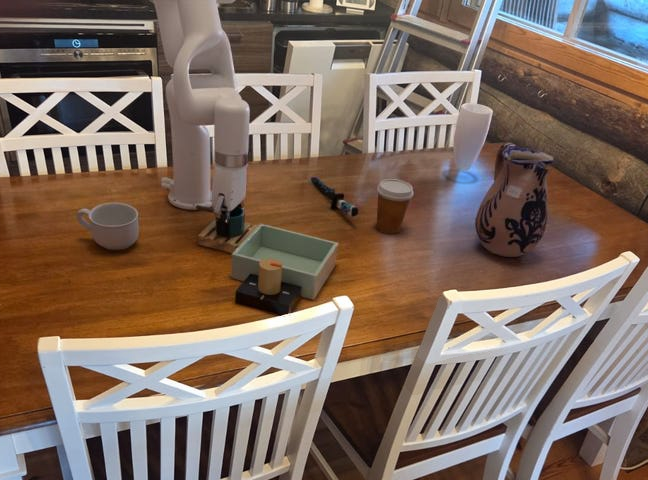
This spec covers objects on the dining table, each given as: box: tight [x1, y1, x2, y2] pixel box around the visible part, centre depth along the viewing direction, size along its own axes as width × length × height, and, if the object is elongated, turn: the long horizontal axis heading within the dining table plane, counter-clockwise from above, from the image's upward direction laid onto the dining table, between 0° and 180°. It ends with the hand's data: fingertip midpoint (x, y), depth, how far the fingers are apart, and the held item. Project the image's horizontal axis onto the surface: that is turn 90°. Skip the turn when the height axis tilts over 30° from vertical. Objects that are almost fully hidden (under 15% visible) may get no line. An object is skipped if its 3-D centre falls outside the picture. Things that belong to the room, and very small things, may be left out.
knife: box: [310, 176, 359, 218], centre depth 176 cm, size 31×3×4 cm, turn 20°
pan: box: [196, 205, 246, 238], centre depth 151 cm, size 12×7×5 cm, turn 73°
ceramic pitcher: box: [474, 142, 555, 258], centre depth 159 cm, size 18×21×25 cm
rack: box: [197, 219, 259, 254], centre depth 153 cm, size 12×12×3 cm
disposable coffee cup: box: [376, 178, 415, 234], centre depth 165 cm, size 10×10×12 cm
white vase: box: [452, 102, 494, 172], centre depth 196 cm, size 10×10×22 cm
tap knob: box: [258, 258, 282, 295], centre depth 132 cm, size 5×5×6 cm
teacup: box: [76, 202, 140, 251], centre depth 145 cm, size 14×11×8 cm
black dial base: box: [234, 273, 302, 316], centre depth 134 cm, size 12×9×3 cm
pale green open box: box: [230, 223, 339, 300], centre depth 144 cm, size 20×17×6 cm
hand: (229, 228), depth 152 cm, fingers closed on pan, 6 cm apart
